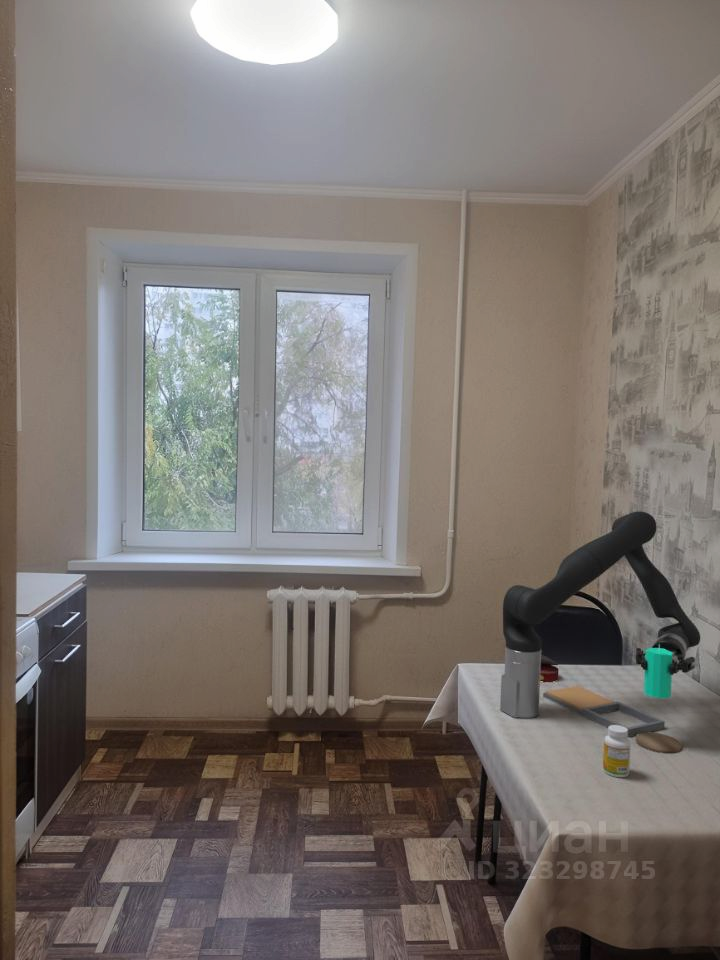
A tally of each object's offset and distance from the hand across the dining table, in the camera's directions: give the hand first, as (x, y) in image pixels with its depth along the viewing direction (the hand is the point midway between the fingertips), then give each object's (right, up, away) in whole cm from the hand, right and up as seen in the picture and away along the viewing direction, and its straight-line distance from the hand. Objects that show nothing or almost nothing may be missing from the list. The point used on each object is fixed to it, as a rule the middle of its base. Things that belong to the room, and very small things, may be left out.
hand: (658, 668), depth 167 cm
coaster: (+1, -19, +2) cm, 19 cm away
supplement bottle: (-15, -19, -14) cm, 28 cm away
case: (-6, -17, +22) cm, 29 cm away
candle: (+1, -7, +3) cm, 8 cm away
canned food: (-15, -16, +49) cm, 54 cm away
